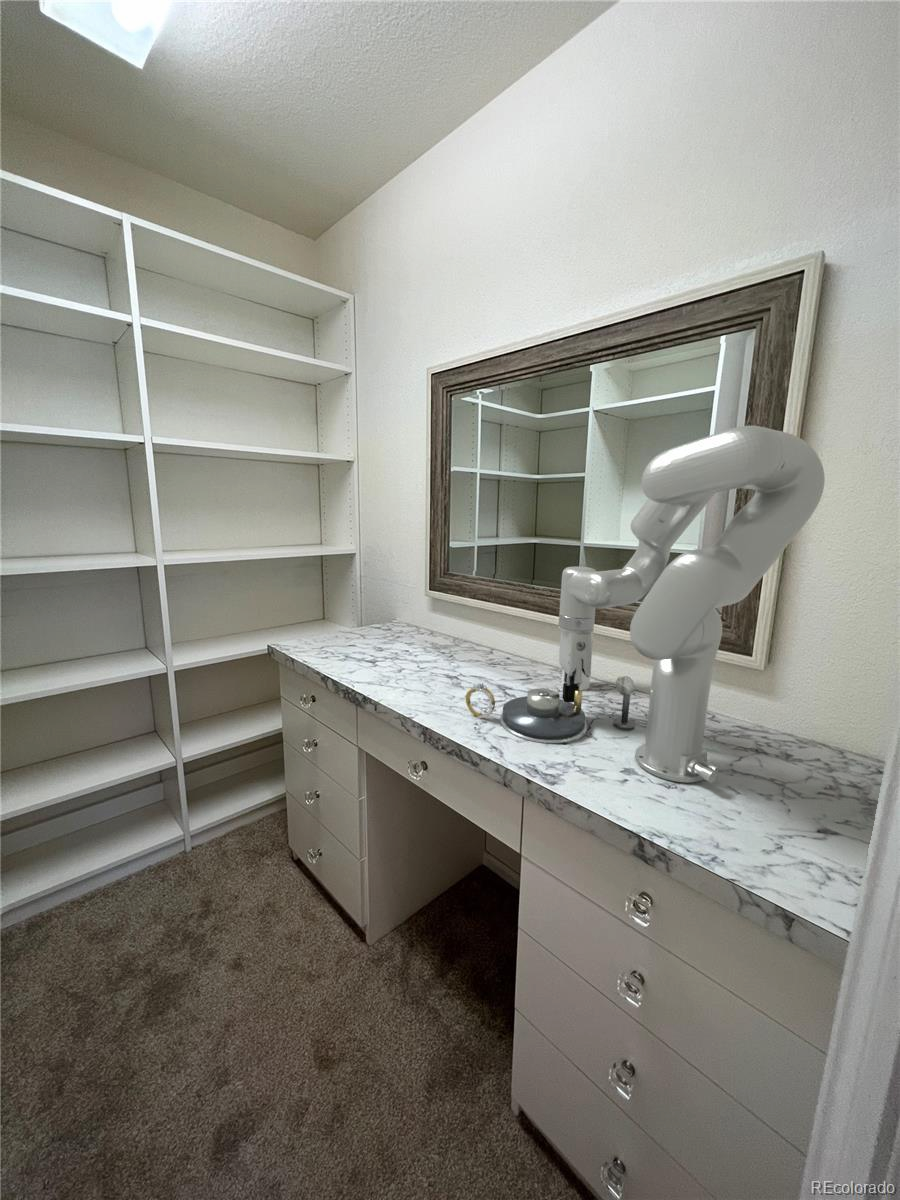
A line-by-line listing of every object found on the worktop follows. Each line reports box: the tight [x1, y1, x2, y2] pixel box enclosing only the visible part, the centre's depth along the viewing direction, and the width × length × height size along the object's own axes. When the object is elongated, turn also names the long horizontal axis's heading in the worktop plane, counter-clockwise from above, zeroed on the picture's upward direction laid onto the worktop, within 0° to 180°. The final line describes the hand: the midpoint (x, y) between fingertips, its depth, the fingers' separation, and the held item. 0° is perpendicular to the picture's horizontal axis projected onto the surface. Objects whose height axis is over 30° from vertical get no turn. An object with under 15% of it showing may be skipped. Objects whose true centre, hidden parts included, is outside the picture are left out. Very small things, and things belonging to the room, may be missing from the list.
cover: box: [526, 688, 561, 718], centre depth 104 cm, size 7×7×4 cm
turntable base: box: [499, 712, 588, 745], centre depth 105 cm, size 19×19×1 cm
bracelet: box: [465, 683, 496, 719], centre depth 106 cm, size 7×3×8 cm, turn 52°
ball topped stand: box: [613, 675, 636, 731], centre depth 103 cm, size 4×4×12 cm
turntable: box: [502, 689, 586, 739], centre depth 104 cm, size 18×18×7 cm
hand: (570, 700), depth 107 cm, fingers closed
